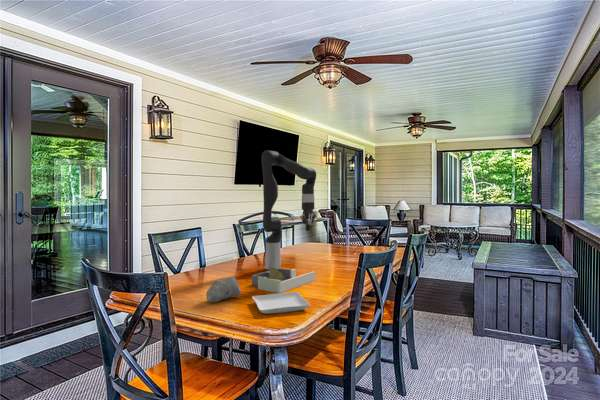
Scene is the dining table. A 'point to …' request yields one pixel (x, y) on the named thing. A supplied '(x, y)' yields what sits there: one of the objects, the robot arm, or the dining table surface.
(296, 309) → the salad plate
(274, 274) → the rock
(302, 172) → the robot arm
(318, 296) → the dining table surface
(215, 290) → the gray stone
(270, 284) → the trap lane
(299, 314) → the dining table surface
